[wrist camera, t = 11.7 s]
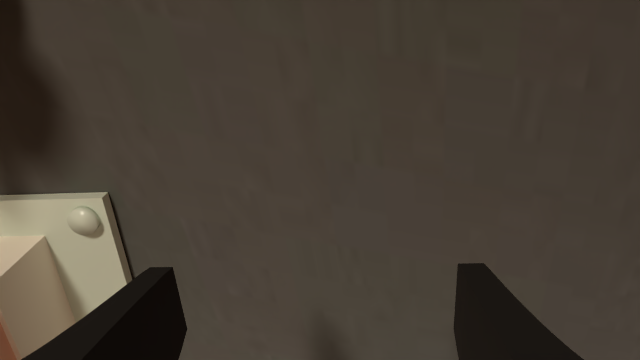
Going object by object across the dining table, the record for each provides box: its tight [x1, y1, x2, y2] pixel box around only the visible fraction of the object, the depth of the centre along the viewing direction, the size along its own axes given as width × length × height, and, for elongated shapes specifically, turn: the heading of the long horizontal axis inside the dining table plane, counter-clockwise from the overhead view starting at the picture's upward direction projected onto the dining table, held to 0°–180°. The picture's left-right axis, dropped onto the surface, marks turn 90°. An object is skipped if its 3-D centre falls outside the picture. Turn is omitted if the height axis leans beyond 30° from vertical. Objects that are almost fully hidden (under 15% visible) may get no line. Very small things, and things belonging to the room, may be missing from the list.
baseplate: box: [0, 192, 132, 322], centre depth 26 cm, size 12×12×1 cm
